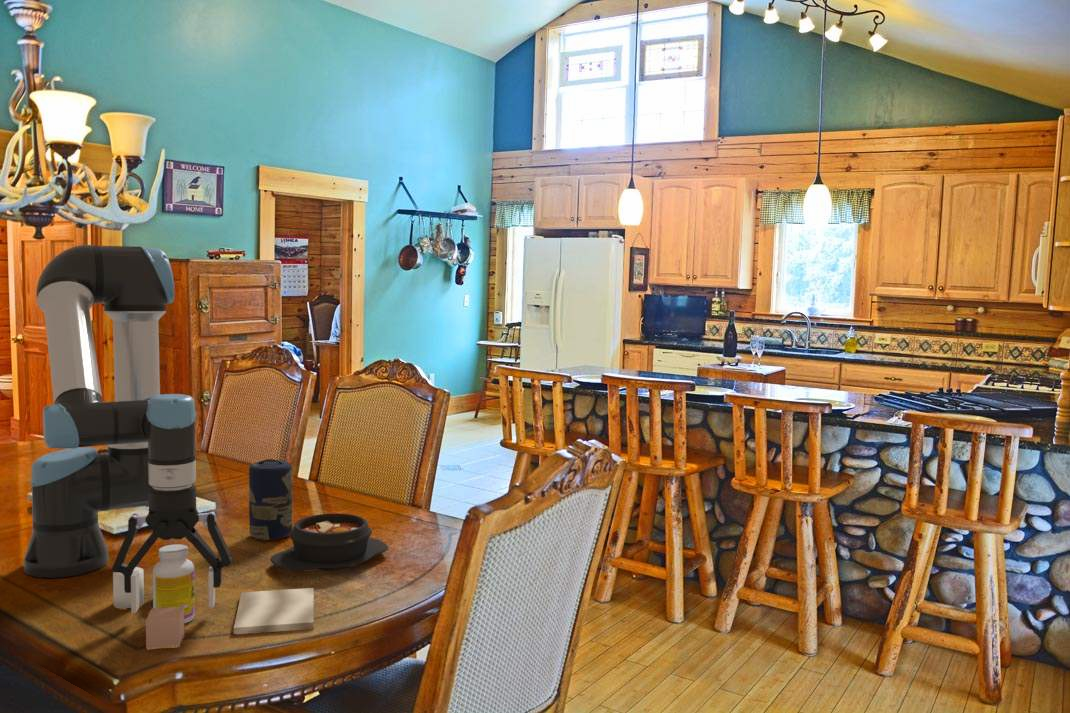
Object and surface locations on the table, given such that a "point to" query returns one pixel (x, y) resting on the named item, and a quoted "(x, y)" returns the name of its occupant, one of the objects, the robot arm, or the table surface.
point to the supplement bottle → (174, 580)
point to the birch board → (275, 611)
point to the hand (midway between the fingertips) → (174, 607)
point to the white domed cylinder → (119, 593)
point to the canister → (270, 499)
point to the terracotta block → (164, 627)
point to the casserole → (329, 543)
